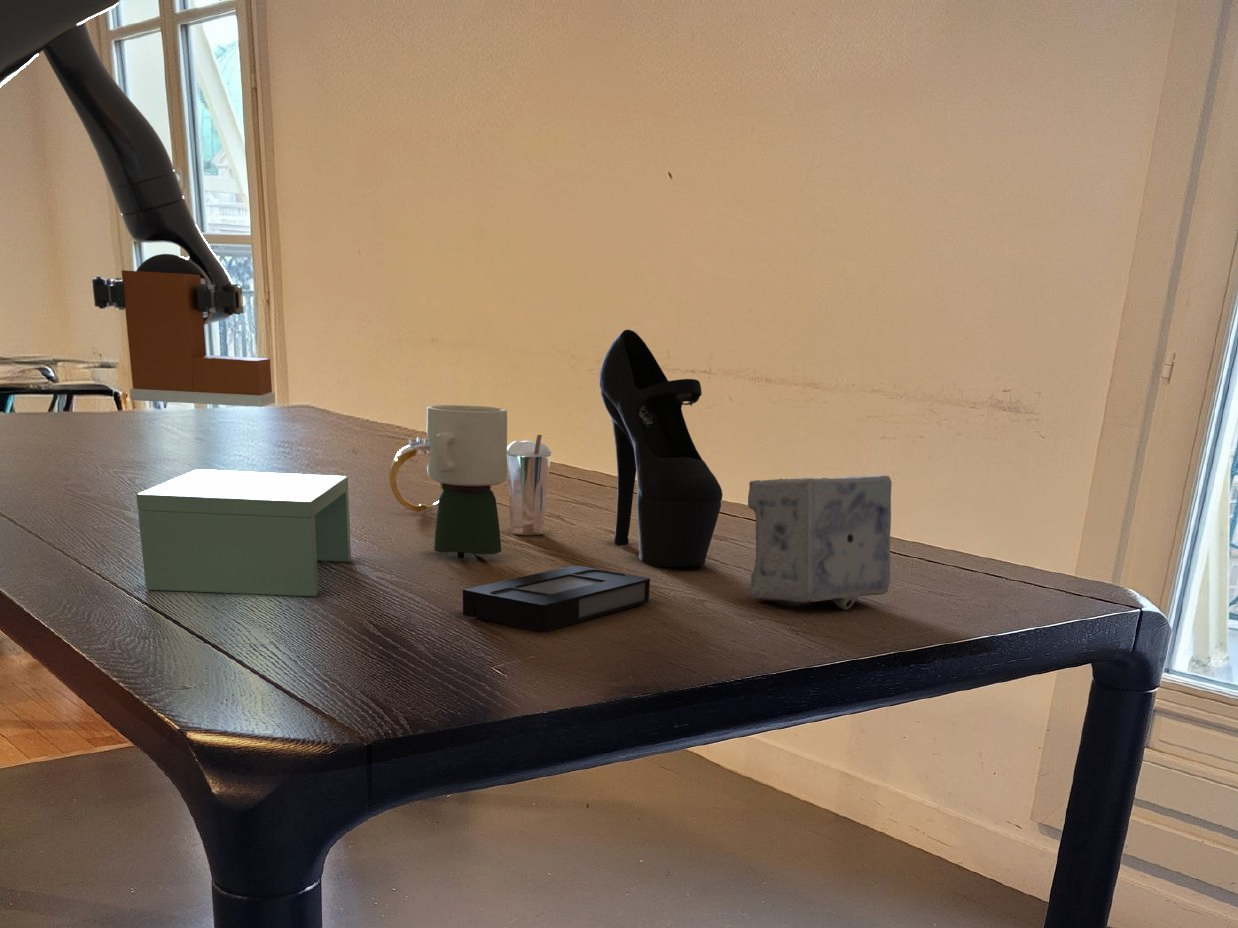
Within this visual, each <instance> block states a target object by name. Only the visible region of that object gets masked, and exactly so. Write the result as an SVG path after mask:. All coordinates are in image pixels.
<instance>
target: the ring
mask: <svg viewBox="0 0 1238 928" xmlns="http://www.w3.org/2000/svg"><path fill="white" fill-rule="evenodd" d="M417 454H418V455H425V454H428V456H430V444H429V439H428V437H424V438H422V437H420V436H417V437H416V442H413V440H412V438H408V445H406V446H404V447H402V448H401V449H399V451H397V453H396V454H395V456H394V458H393V460H392V461H391V465H390V469H389V470H390V471H389V485H390V488H391V491H392V494H393V497H394V498H395V499H396V500H397V502H398V503H399V504H400V505H402V506H403V507H404V508H406V509H407V510H410V511H412V512H414V513H418V514H419V515H422V516H424V515H427V514H428V513H432V512H436V511H437V509H438V501H436V502H434V503H432V504H429V505H427V504H425V503H419V504H418V505H416V504H413V503H411V502H409V501H408V500H406V499H405V498H404V497H403V496H402V494H401V492H400V490H399V489H398V488H399V487H398V485H397V484H398V483H397V475H398V472H399V470H400V468H401V467H402V465H403V464H404V463H405V462H407V461H408V460H409V459H411V458H414V457H415V456H416V455H417Z"/></svg>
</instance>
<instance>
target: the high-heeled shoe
mask: <svg viewBox="0 0 1238 928" xmlns="http://www.w3.org/2000/svg"><path fill="white" fill-rule="evenodd" d="M598 384H599V385H598V386H599V389H600V395H601V399H602V402H603V405H604V407H605V409H606V412H607V413H608V415H609V417H610V419H611V423H612V431H613V438H614V446H615V447H614V448H615V458H616V474H617V476H616V477H617V478H616V479H617V483H616V484H617V487H616V488H617V489H616V490H617V491H616V493H617V495H616V516H615V530H614V531H615V532H614V538H613V544H614V545H617V546H626V545H629V542H630V539H629V533H630V528H631V518H632V511H633V510H632V509H633V500H634V493H635V492H634V491H635V483H636V482H637V493H636V511H637V512H636V513H637V516H636V517H637V529H638V530H637V531H638V543H639V544H638V546H639V551H638V552H639V554H638V559H639V560H640V561H642V562H643V563H645V564H648V565H651V566H655V567H661V568H665V567H667V568H669V567H691V566H705V564H706V558H707V555H708V551H709V548H710V545H711V541H712V539H713V536H714V532H715V529H716V526H717V522H718V518H719V515H720V511H721V508H722V500H723V489H722V487H721V485H720V483H719V482H718V479H717V477H716V476H715V475H714V474H713V472H712V471H711V470H710V468H709V466H708V464H707V463H706V462H705V460H703V458H702V457H701V455H700V453H699V452H698V449H697V447H696V445H695V443H694V441H693V439H692V437H691V434H690V432H689V429H688V426H687V423H686V421H685V418H684V414H683V410H682V407H683V406H690V407H692V406H693V404H696V403H697V402H698V401H699V400H700V397H702V394H703V392H702V386H701V383H700V381H699V380H698V379H694V378H682V379H672V380H669V379H668V378H667V376H666V374H665V373H664V371H663V370H662V367H661V366H660V365H659V363H658V361H657V360H656V357H655V356H654V354H653V353H652V351H651V349H650V348H649V347H648V344H647V343H646V342H645V341H644V340H643V338H641V336H640V335H639V334H638V333H637V332H636V331H634V330H631V329H625V330H623V331H621V332H620V333H619V334H618V335H617V336H616V338H615V339H614V340H613V341H612V343H611V344H610V346H609V348H608V349H607V351H606V353H605V355H604V357H603V359H602V363H601V367H600V371H599V378H598Z"/></svg>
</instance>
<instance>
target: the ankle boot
mask: <svg viewBox="0 0 1238 928" xmlns="http://www.w3.org/2000/svg"><path fill="white" fill-rule="evenodd" d="M121 278H122V281H123V289H124V299H125V308H124V309H125V310H124V312H125V320H126V331H127V332H126V333H127V341H128V351H129V362H130V373H131V383H132V388H130V389H129V393H130V400H131V401H142V402H143V401H144V402H162V403H177V404H179V403H180V404H181V403H182V404H201V405H219V406H221V405H222V406H237V407H258V408H262V407H266V406H268V405H271V404H274V403H276V392H275V391H273V387H272V368H271V359H270V358H269V357H268V358H266V357H265V358H264V357H249V356H247V357H246V356H229V355H226V356H225V355H213V354H212V355H211V354H207V346H206V332H205V325H204V317H203V312H198V304H197V291H196V285H201V277H200V275H193V274H177V273H160V272H143V271H136V270H123V269H122V270H121Z"/></svg>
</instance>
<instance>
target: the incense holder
mask: <svg viewBox="0 0 1238 928" xmlns="http://www.w3.org/2000/svg"><path fill="white" fill-rule="evenodd" d="M892 484H893V483H892V479H891V477H890V475H885V474H884V475H881V474H877V475H876V474H875V475H860V476H846V477H834V478H830V477H821V478H812V477H801V478H775V479H763V480H761V479H760V480H759V479H757V480H750V481H749V483H748V485H749V489H748V495H747V507H748V508H749V509H751V510H752V511H753V512H754V514H755V563H754V567H753V570H752V573H751V575H750V579H751V580H750V594H751V595H752V598H754V599H755V600H761V601H767V600H774V601H784V602H795V603H815V602H816V603H817V602H823V601H830V600H831V601H832V602H834V603H835V605H836V606H837V607H838V608H839V609H841V610H843V611H845V610H849V609H850V608H851V607H852V606H853V605H854V603H855V602H856V600H857V598H859V597H862V596H863V597H864V596H865V597H866V596H879V595H880V596H881V595H885V594H887V593H888V592H889V587H890V583H891V531H892V530H891V529H892Z"/></svg>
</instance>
